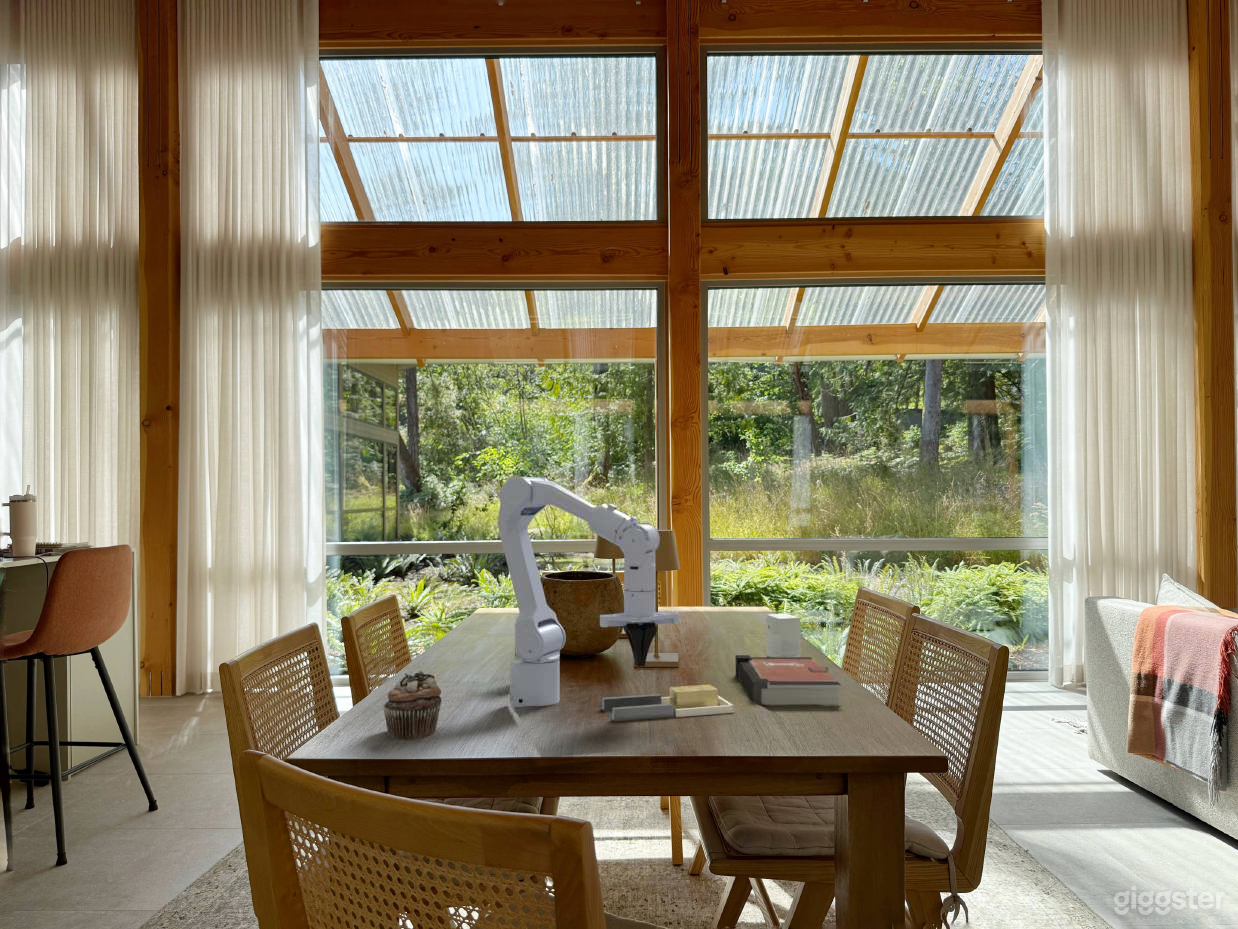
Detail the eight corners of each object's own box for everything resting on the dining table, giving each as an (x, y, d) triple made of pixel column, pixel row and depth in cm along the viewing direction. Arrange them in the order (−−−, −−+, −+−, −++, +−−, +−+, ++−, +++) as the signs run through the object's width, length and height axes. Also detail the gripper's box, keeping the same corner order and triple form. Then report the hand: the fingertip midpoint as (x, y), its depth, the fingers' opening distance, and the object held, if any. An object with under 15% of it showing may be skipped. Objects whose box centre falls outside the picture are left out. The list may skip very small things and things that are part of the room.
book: (845, 709, 155) (845, 682, 155) (753, 709, 155) (753, 682, 156) (814, 677, 181) (814, 655, 182) (735, 677, 182) (735, 655, 182)
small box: (801, 661, 197) (801, 617, 197) (780, 662, 195) (779, 618, 196) (787, 655, 204) (786, 612, 205) (766, 656, 203) (766, 613, 204)
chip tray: (676, 722, 145) (676, 710, 145) (660, 709, 153) (660, 697, 154) (734, 717, 147) (734, 705, 148) (715, 705, 156) (715, 693, 156)
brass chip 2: (697, 713, 149) (697, 690, 149) (690, 707, 152) (689, 685, 153) (718, 711, 150) (717, 689, 150) (710, 706, 153) (709, 684, 154)
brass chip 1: (676, 714, 148) (676, 692, 148) (669, 709, 151) (669, 687, 152) (697, 713, 149) (697, 690, 149) (690, 707, 152) (689, 685, 153)
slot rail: (614, 726, 142) (614, 709, 142) (602, 714, 150) (602, 697, 150) (674, 722, 145) (673, 705, 145) (659, 710, 153) (659, 693, 153)
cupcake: (415, 721, 146) (415, 665, 146) (452, 730, 140) (453, 672, 141) (370, 734, 138) (371, 675, 138) (409, 744, 132) (409, 682, 133)
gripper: (606, 594, 143) (606, 672, 142) (684, 591, 146) (685, 667, 146) (597, 589, 149) (597, 664, 149) (672, 587, 153) (672, 659, 153)
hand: (639, 665), depth 148 cm, fingers closed
